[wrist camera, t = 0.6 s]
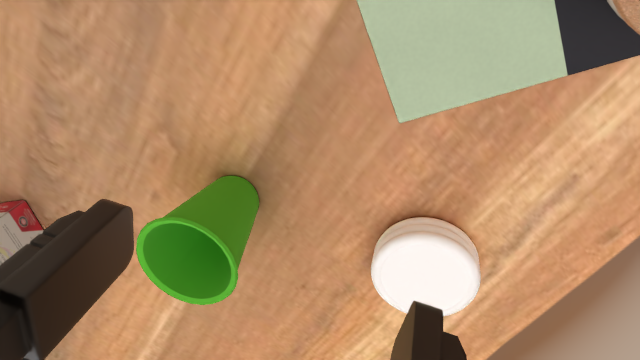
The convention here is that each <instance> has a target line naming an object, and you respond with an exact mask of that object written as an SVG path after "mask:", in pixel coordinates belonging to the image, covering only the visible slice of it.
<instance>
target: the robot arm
mask: <svg viewBox="0 0 640 360" xmlns="http://www.w3.org/2000/svg"><path fill="white" fill-rule="evenodd" d="M133 250H134V237H133V212H132V209H131V208H130V207H128V206H125V205H122V204H119V203H116V202H113V201H110V200H107V199H101V200H99V201H98V202H97V203H96V204H94V205H93V206H92V207H91V208H90V209H88V210H87V211H86V212H82V211H76V212H74V213H71V214H69V215H67V216H64V217H62V218H59V219H58V220H56V221H55V222H54V223H53V224H51V225H50V226H49V227H48V228H46V229H45V230H44V231H43V233H42V234H39V235H38V236H36V237H35V238H34V239H32V240H31V241H30V244H26V245H25V246H24V247H22V248H21V249H20V250H19V251H17V252H16V253H15V254H14V255H12V256H11V257H10V258H9V259H7V260H6V261H5V262H3V263H2V264H1V265H0V360H22V359H23V358H26V359H29V360H44V359H45V358H46V357H47V356H48V354H49V353H50V352H51V351H52V350H53V349H54V348H55V347H56V346H57V344H58V343H59V342H60V341H61V340H62V339H63V338H64V337H65V336H66V334H67V333H68V332H69V331H70V330H71V329H72V328H73V327H74V325H75V324H76V323H77V322H78V321H79V320H80V319H81V318H82V317H83V315H84V314H85V313H86V312H87V311H88V310H89V309H90V308H91V307H92V305H93V304H94V303H95V302H96V301H97V300H98V299H99V298H100V297H101V295H102V294H103V293H104V292H105V291H106V290H107V289H108V288H109V287H110V285H111V284H112V283H113V282H114V281H115V280H116V279H117V278H118V276H119V275H120V274H121V273H122V272H123V271H124V270H125V269H126V267H127V266H128V264H129V262H130V260H131V258H132V255H133ZM391 360H467V358H466V354H465V352H464V349H463V347H462V345H461V343H460V341H459V338H458V336H455V335H452V334H449V333H446V332H443V311H442V309H439V308H436V307H433V306H430V305H427V304H424V303H421V302H417V301H413V303H412V304H411V306H410V309H409V311H408V313H407V315H406V317H405V320H404V322H403V324H402V326H401V328H400V331H399V333H398V335H397V337H396V340H395V343H394V346H393V350H392V354H391Z"/></svg>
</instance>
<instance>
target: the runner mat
mask: <svg viewBox="0 0 640 360" xmlns="http://www.w3.org/2000/svg"><path fill="white" fill-rule="evenodd" d="M357 3H358V6H359V8H360V11H361V14H362V17H363V20H364V23H365V26H366V29H367V32H368V35H369V37H370V40H371V43H372V46H373V49H374V52H375V55H376V58H377V61H378V63H379V66H380V69H381V72H382V75H383V78H384V81H385V84H386V87H387V90H388V92H389V95H390V98H391V101H392V104H393V107H394V110H395V113H396V116H397V118H398V121H399V123H403V122H406V121H410V120H413V119H417V118H420V117H424V116H427V115H431V114H434V113H438V112H441V111H445V110H448V109H452V108H455V107H459V106H462V105H466V104H469V103H473V102H476V101H480V100H483V99H487V98H490V97H494V96H497V95H501V94H504V93H508V92H511V91H515V90H518V89H522V88H525V87H529V86H532V85H536V84H539V83H543V82H546V81H550V80H554V79H557V78H561V77H564V76H567V75H571V74H575V73H578V72H582V71H585V70H589V69H592V68H596V67H599V66H603V65H606V64H610V63H613V62H617V61H620V60H624V59H627V58H631V57H634V56H638V55H640V35H639V34H638V33H637V32H636V31H634V30H633V29H632V28H631V27H630V26H629V25H627V23H626V22H625V21H624V20H622V19H621V18H620V17H619V16H618V15H617V14H616V12H615V11H614V10H613V9H612V7H611V6H610V5H609V3H608V2H607V0H357Z"/></svg>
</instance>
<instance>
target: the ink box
mask: <svg viewBox="0 0 640 360" xmlns="http://www.w3.org/2000/svg"><path fill="white" fill-rule="evenodd" d="M43 231H44V230H43V228H42V227H41V225H40V224H39V222H38V220H37V219H36V217H35V216H34V214H33V212H32V211H31V209H30V207H29V206H28V204H27V203H26V202H25V201H24V200H20V201H11V202H5V203H0V265H1V264H2V263H3V262H5V261H6V260H7V259H9V258H10V257H11V256H12V255H14V254H15V253H16V252H17V251H19V250H20V249H21V248H22V247H24V246H25V245H26V244H30V241H31V240H32V239H34V238H35V237H36V236H38V235H39V234H42V233H43Z"/></svg>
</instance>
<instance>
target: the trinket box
mask: <svg viewBox="0 0 640 360" xmlns="http://www.w3.org/2000/svg"><path fill="white" fill-rule="evenodd" d="M607 2H608V3H609V5H610V6H611V7H612V9H613V10H614V11H615V12H616V14H617V15H618V16H619V17H620V18H621V19H622V20H624V21H625V22H626V23H627V25H629V26H630V27H631V28H632V29H633V30H634V31H636V32H637V33H638V34H639V35H640V0H607Z"/></svg>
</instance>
